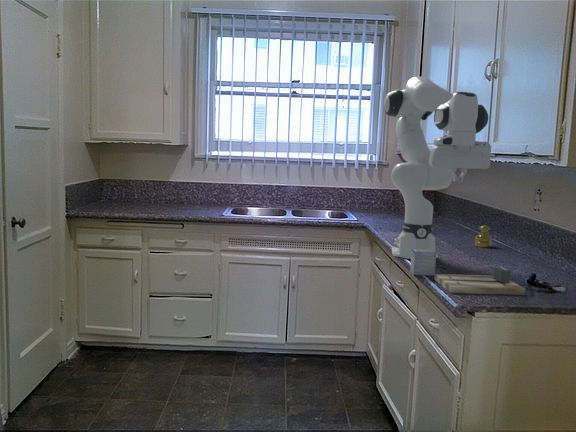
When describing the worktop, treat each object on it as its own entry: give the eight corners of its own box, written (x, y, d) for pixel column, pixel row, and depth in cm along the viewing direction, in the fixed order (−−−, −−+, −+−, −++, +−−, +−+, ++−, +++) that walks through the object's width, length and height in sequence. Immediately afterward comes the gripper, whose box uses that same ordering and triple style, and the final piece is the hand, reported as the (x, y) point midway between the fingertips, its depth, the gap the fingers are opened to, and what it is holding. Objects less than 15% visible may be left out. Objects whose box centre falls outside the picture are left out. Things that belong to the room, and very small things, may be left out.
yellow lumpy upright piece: (492, 248, 240) (494, 227, 238) (475, 247, 241) (477, 226, 240) (489, 245, 247) (491, 224, 246) (473, 244, 248) (475, 223, 247)
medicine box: (431, 273, 187) (433, 249, 186) (434, 276, 182) (436, 252, 181) (409, 272, 187) (411, 248, 185) (413, 275, 182) (414, 251, 181)
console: (433, 279, 178) (434, 273, 177) (501, 281, 179) (502, 275, 179) (450, 292, 162) (450, 286, 162) (524, 294, 163) (525, 288, 163)
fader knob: (493, 278, 173) (495, 266, 172) (502, 278, 173) (503, 266, 172) (500, 282, 168) (501, 269, 167) (509, 282, 168) (510, 270, 167)
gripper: (487, 141, 177) (483, 182, 179) (429, 139, 176) (425, 179, 178) (495, 141, 171) (491, 183, 172) (435, 139, 170) (431, 181, 172)
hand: (457, 181), depth 175 cm, fingers closed
